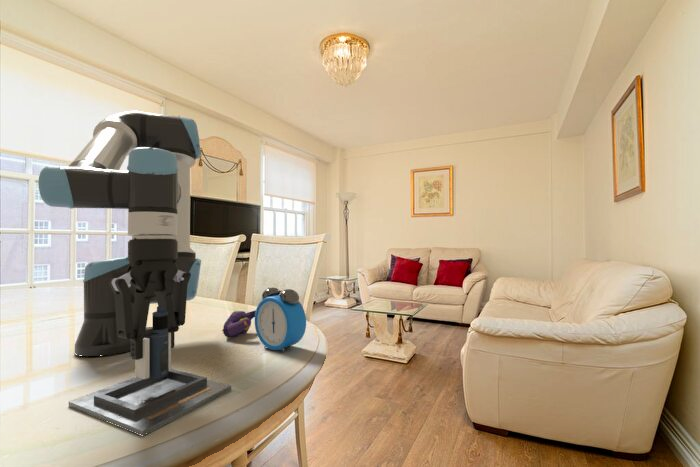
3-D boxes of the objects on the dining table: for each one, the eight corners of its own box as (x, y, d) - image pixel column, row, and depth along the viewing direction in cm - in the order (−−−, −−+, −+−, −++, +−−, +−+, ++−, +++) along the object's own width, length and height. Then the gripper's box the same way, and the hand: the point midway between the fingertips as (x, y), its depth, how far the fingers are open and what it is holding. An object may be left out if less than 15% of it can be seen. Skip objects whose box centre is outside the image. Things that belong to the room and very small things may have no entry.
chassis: (68, 406, 55) (68, 394, 55) (160, 371, 69) (160, 362, 70) (142, 436, 46) (142, 422, 46) (231, 389, 61) (231, 378, 61)
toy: (260, 330, 101) (262, 309, 101) (247, 344, 90) (248, 320, 89) (225, 328, 102) (226, 306, 101) (207, 341, 90) (208, 317, 90)
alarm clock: (253, 346, 85) (253, 288, 86) (272, 340, 91) (271, 285, 91) (290, 356, 78) (289, 291, 78) (307, 349, 83) (307, 288, 83)
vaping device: (160, 380, 56) (160, 308, 56) (135, 377, 57) (135, 307, 57) (172, 374, 58) (172, 305, 59) (147, 371, 60) (147, 304, 60)
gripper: (116, 237, 49) (115, 396, 49) (207, 237, 64) (207, 360, 63) (88, 238, 53) (87, 387, 52) (181, 238, 67) (181, 355, 67)
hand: (153, 372), depth 58 cm, fingers closed on vaping device, 3 cm apart
